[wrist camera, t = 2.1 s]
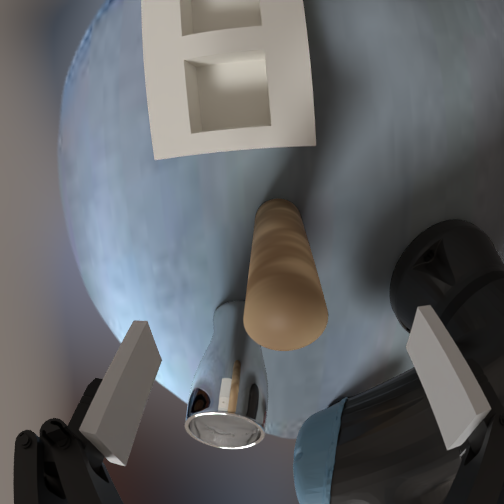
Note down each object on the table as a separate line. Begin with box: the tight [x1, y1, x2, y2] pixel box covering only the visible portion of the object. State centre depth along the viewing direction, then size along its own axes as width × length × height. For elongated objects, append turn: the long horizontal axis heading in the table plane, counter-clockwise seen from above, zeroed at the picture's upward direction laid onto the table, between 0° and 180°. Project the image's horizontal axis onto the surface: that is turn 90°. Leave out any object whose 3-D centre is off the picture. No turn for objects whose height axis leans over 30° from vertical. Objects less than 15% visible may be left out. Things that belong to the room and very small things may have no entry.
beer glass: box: [185, 301, 268, 449], centre depth 27 cm, size 7×7×15 cm
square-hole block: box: [141, 0, 316, 160], centre depth 19 cm, size 12×17×6 cm
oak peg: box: [243, 199, 328, 351], centre depth 22 cm, size 4×4×15 cm
